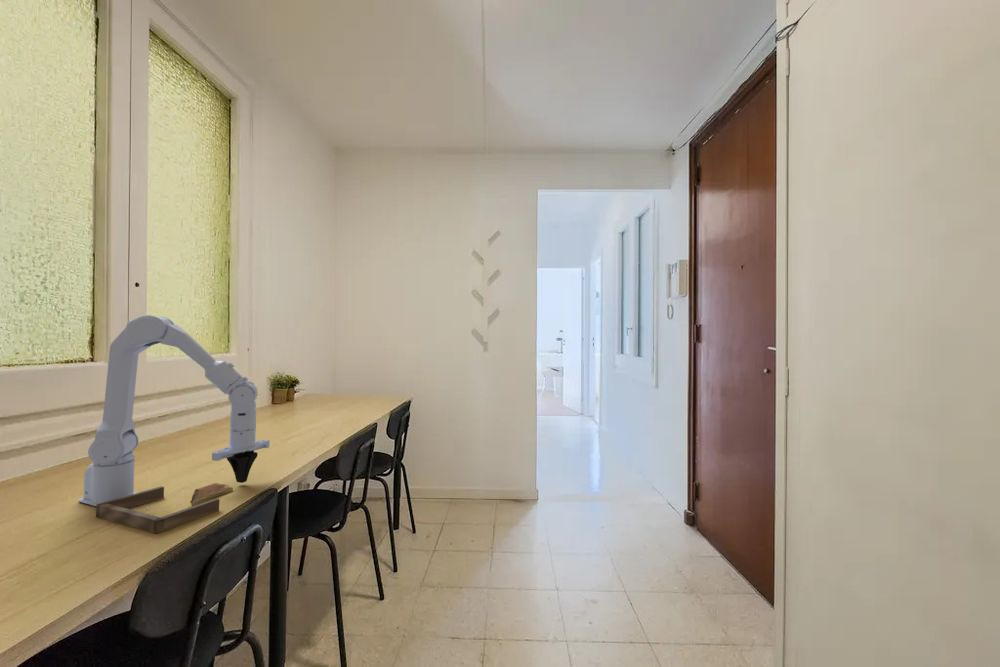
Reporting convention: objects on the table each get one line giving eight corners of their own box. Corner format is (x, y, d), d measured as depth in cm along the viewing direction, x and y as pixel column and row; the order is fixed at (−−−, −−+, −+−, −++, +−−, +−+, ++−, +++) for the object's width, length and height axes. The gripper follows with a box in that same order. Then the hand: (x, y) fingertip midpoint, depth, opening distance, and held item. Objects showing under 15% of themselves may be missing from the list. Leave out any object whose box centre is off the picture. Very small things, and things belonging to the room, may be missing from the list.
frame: (96, 516, 88) (96, 504, 88) (160, 496, 100) (160, 486, 100) (156, 533, 81) (157, 520, 81) (219, 510, 92) (219, 499, 92)
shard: (190, 509, 94) (190, 501, 94) (166, 504, 96) (166, 496, 96) (234, 492, 104) (234, 485, 104) (211, 489, 107) (211, 481, 107)
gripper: (226, 436, 100) (225, 493, 100) (278, 425, 114) (276, 475, 113) (206, 433, 103) (205, 488, 102) (259, 423, 116) (258, 472, 116)
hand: (241, 481), depth 108 cm, fingers closed
